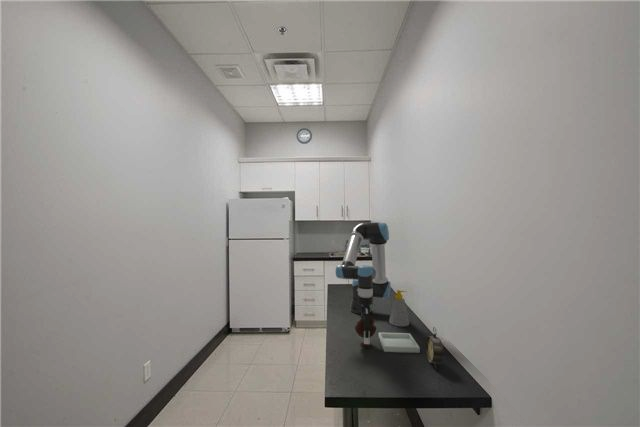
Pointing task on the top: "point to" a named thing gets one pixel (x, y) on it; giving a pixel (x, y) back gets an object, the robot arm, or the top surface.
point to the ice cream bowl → (359, 330)
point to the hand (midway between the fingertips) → (365, 338)
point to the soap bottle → (399, 311)
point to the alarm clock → (434, 349)
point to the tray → (398, 342)
